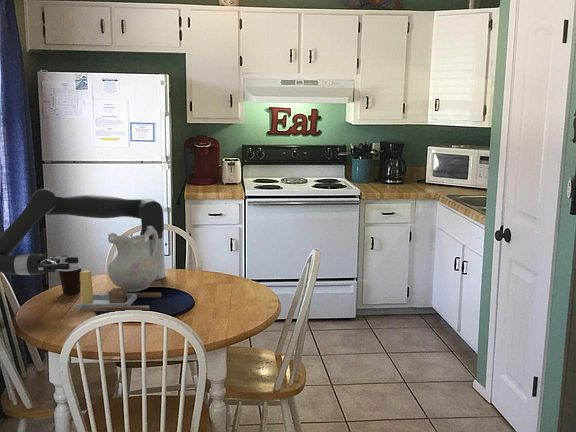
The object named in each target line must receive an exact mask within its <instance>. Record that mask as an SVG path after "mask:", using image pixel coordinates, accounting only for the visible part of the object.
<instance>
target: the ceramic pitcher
mask: <svg viewBox="0 0 576 432" xmlns="http://www.w3.org/2000/svg"><path fill="white" fill-rule="evenodd" d="M107 235H108V238H107V241H108V242H109V243H110V244H114V245H115V248H116V250H117V255H116V256H115V257H114V258H113V259H112V260H111V261H110V262H109V263H108V265H107V273H108V277H109V279H110V281H111V282H112V284H113V285H114V286H116V287H117V288H127V293H134V292H140V291H143V290H146V289H148V288H150V287H149V285H152V284H153V282H155V281H156V280H155V279H156V277H157V275H158V271H159V266H158V262H157V261H156V259H155V253H156V251H157V247H158V234H157V231H156V230H155V229H154V228H153V226H152V225H151V226H147V227H146V232H145V234H144V235H140V234H137V235H134V236H127V235H126V234H121V235H118V234H117V233H114V232H110V233H108V234H107ZM151 235H152V236H153V246H152V251H151V255H149V254H148V252H147V245H148V242H149V236H151Z"/></svg>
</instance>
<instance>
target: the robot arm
mask: <svg viewBox="0 0 576 432" xmlns="http://www.w3.org/2000/svg"><path fill="white" fill-rule="evenodd" d="M51 215H52V216H53V215H56V216H58V215H67V216H75V217H84V218H92V219H93V218H94V219H111V218H121V217H122V218H123V217H125V218H135V219H140V221H141V223H140V224H141V231H140V233H139V235H144V234H145V232H146V227H147V226H151V225H152V226H153V228H154V229H155V230H156V231H157V234H158V247H157V251H156V253H155V259H156V261H157V262H158V266H159V271H158V275H157V277H156V279H155V280H154V281H157V280H162V279H165V278H166V264H165V263H166V262H165V250H164V249H165V248H164V247H165V245H164V236H163V235H164V229H165V227H164V226H165V225H164V223H165V222H164V221H165V220H164V210H163V206H162V205H161V204H160V202H158V201H156V200H155V199H152V198H140V199H139V198H136V199H134V198H132V199H131V198H129V199H128V198H121V197H116V196H111V195H110V196H109V195H104V194H103V195H101V194H80V195H73V196H63V195H56V194H55V193H54V191H52V190H51V189H49V188H40V189H38V190H36V191H35V192H33V193H32V195H31V196H30V199H29V202H28V203H27V205H26V207H24V209H23V210H22V212H21V213H20V214H19V215H18V216H17V218H16V219H15V220H14V221H13V222H11V224H10V225H8V227H7V228H6V229H5V230H4V231H3V232H2V233H1V234H0V273H2V274H3V275H5V276H6V275H7V276H12V275H13V276H15V275H21V276H38V275H39V276H40V275H44V274H45V273H55V271H57V272H59V271H58V270H66V269H69V268H70V267H69V266H70V264H78V263H79V257H78V256H69V255H52V257H48V258H47V257H46V256H45V254H44V253H29V254H28V253H27V254H24V253H23V254H20V255H19V254H18V255H17V254H16V255H11V254H12V253H13V252H14V251H15V249H16V248H17V247H18V246H19V244H21V243H22V241H23V240H24V238H25V237H26V236H27V234H28V233H29V231H30V230H31V229H32V228H33V227H34V226H35V225H36V223H37V222H38V221H39V220H41V219H42V217H44V216H51ZM152 246H153V236H152V235H151V236H149V242H148V245H147V252H148V254H149V255H151V251H152Z"/></svg>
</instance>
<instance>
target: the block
mask: <svg viewBox="0 0 576 432" xmlns="http://www.w3.org/2000/svg"><path fill="white" fill-rule="evenodd" d="M108 293H109V301H110V303H125V302H126V301H127V300H128V299H127V293H128V291H127V288H121V287H112V288H111V289H110V290H109V291H108Z"/></svg>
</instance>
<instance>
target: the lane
mask: <svg viewBox="0 0 576 432" xmlns="http://www.w3.org/2000/svg"><path fill="white" fill-rule="evenodd" d="M97 294H109V292H99V293H97ZM127 294H137V298H161V297H162V292H127ZM150 309H151V308H150V305H130V306H83V307H82V308H81V310H80V311H81V312H122V311H121V310H147V311H150ZM147 311H146V312H147Z"/></svg>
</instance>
